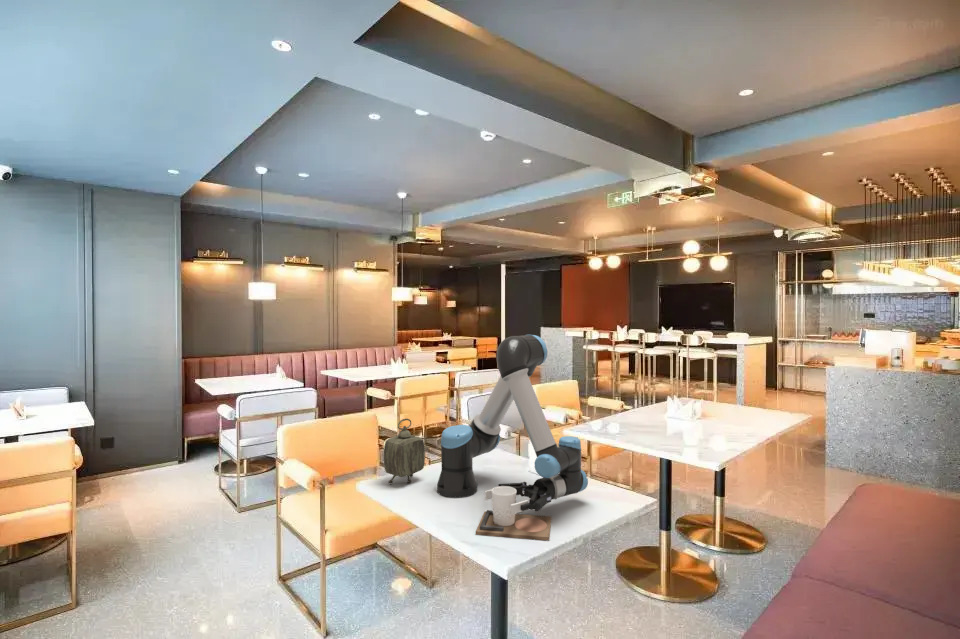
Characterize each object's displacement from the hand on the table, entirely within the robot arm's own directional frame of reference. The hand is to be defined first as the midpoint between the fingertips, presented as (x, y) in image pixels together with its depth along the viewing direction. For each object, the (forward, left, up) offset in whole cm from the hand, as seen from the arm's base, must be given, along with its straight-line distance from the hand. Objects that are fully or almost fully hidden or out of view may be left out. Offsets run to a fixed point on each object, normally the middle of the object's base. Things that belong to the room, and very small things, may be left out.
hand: (497, 502), depth 156 cm
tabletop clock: (-42, +33, -8) cm, 54 cm away
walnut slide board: (+5, +1, -8) cm, 9 cm away
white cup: (+2, +1, -7) cm, 7 cm away
